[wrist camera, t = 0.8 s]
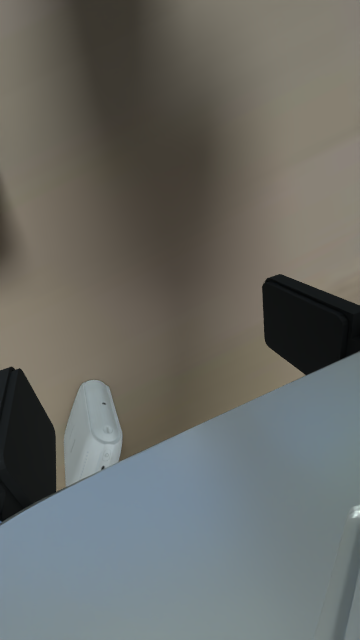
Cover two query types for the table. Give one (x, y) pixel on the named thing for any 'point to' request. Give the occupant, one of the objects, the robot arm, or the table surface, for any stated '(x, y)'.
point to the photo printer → (91, 433)
